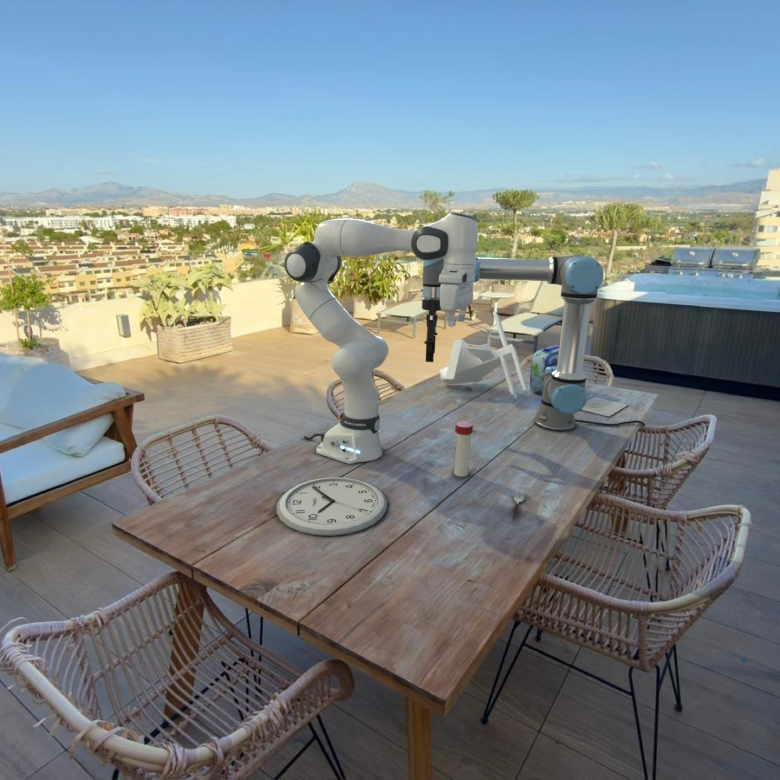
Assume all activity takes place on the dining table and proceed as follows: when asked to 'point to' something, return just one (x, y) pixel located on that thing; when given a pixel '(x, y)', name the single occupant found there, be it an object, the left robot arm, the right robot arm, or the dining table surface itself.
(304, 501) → the wall clock
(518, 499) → the fork
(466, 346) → the white plastic object
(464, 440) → the jar
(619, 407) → the invitation card
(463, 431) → the lid
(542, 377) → the lunch box
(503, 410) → the dining table surface
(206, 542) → the dining table surface
